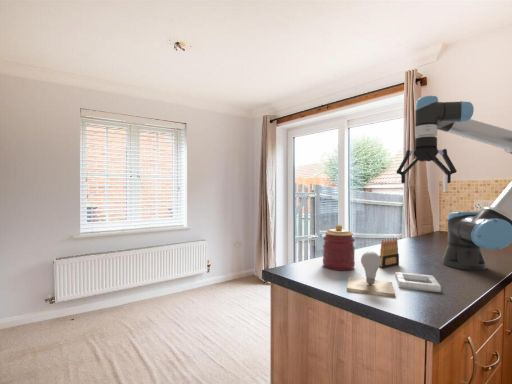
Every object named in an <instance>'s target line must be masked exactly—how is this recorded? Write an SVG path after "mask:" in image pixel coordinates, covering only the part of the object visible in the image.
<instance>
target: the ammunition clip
mask: <svg viewBox="0 0 512 384" xmlns="http://www.w3.org/2000/svg"><path fill="white" fill-rule="evenodd" d="M398 244H399V243H398V237H392V238H390V239H389V238H387V239H386V238H385V239H384V238H382V239H381V243H380V255H379V257H380V259H381V264H380V267H379V269H388V268H391V267H397V266H399V265H400V254H399V245H398Z"/></svg>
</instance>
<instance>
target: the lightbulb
mask: <svg viewBox="0 0 512 384" xmlns="http://www.w3.org/2000/svg"><path fill="white" fill-rule="evenodd" d="M360 262H361V265H362V267H363V270H364V273H365V279H366V281H367V283H368V284H369V285H372V284H374V283H375V280H376V277H377V272H378V269H380V264H381V259H380V255H379V254H378V253H377V252H374V251H366V252H364V253H363V254H362V255H361V258H360Z"/></svg>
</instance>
